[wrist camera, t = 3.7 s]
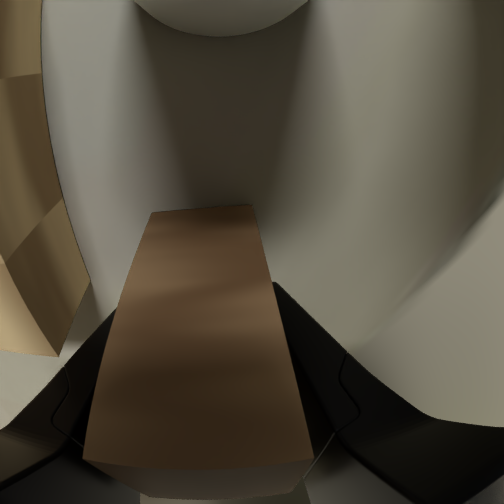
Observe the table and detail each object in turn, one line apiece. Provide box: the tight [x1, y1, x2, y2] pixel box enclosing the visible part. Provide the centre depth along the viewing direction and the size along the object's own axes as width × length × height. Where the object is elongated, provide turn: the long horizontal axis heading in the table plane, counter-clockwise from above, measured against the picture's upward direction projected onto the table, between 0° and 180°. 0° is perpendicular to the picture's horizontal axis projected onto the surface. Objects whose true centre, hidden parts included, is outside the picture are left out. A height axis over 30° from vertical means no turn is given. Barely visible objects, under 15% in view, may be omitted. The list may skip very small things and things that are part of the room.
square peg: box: [82, 205, 314, 500], centre depth 7 cm, size 3×3×8 cm
